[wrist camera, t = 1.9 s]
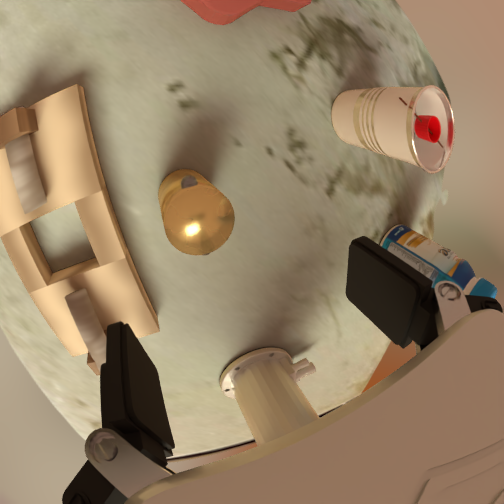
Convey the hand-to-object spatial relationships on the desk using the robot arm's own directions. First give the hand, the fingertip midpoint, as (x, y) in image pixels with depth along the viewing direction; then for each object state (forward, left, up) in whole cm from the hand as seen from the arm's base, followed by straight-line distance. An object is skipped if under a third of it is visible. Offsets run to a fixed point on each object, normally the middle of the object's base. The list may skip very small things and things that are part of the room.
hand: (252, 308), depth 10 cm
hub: (0, 0, -18) cm, 18 cm away
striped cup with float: (-21, -5, -18) cm, 28 cm away
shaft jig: (+13, 0, -18) cm, 22 cm away
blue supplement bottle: (-30, +16, -18) cm, 39 cm away
